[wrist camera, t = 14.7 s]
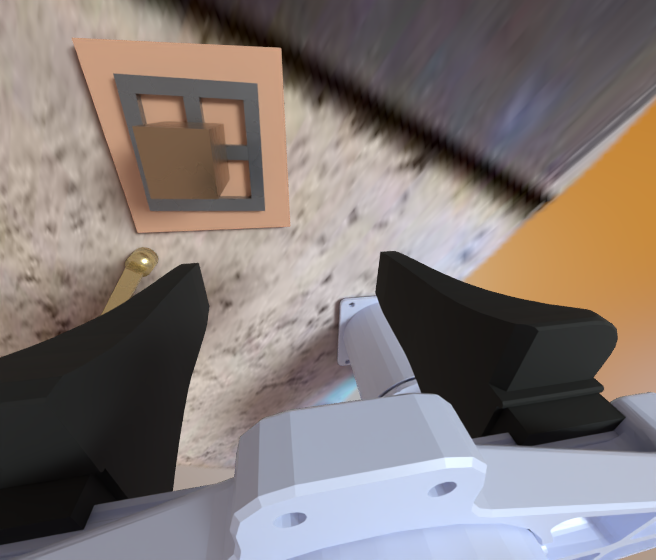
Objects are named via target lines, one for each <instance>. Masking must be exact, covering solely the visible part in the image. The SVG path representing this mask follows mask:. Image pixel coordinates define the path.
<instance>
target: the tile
mask: <svg viewBox="0 0 656 560" xmlns="http://www.w3.org/2000/svg"><path fill="white" fill-rule="evenodd" d="M72 40H73V43H74V46H75V49H76V52H77V55H78V58H79V61H80V64H81V67H82V70H83V73H84V76H85V79H86V82H87V85H88V87H89V90H90V93H91V96H92V99H93V102H94V105H95V108H96V111H97V114H98V117H99V120H100V123H101V126H102V129H103V132H104V135H105V138H106V141H107V143H108V146H109V149H110V152H111V155H112V158H113V161H114V164H115V167H116V170H117V173H118V176H119V179H120V182H121V185H122V188H123V191H124V194H125V196H126V199H127V202H128V205H129V208H130V211H131V214H132V217H133V220H134V223H135V226H136V229H137V232H138V233H145V232H169V231H194V230H218V229H242V228H267V227H290V211H289V192H288V172H287V153H286V134H285V114H284V95H283V76H282V56H281V48H271V47H250V46H230V45H209V44H189V43H168V42H148V41H127V40H107V39H86V38H72ZM113 73H115V74H130V75H144V76H159V77H173V78H188V79H202V80H217V81H231V82H246V83H257V84H258V96H259V113H260V129H261V145H262V162H263V178H264V195H265V211H150V209H149V205H148V202H147V198H146V194H145V191H144V187H143V183H142V179H141V176H140V172H139V168H138V164H137V161H136V157H135V153H134V149H133V146H132V142H131V138H130V135H129V131H128V127H127V123H126V120H125V116H124V112H123V108H122V105H121V101H120V97H119V93H118V90H117V86H116V82H115V79H114V75H113ZM140 97H141V101H142V105H143V109H144V114H145V118H146V122H147V124H150V123H156V122H163V121H176V122H187V117H186V111H185V106H184V100H183V96H168V95H151V94H140ZM201 100H202V106H203V113H204V120H205V123H220V124H223V125H224V133H225V142H226V144H243V145H247V137H246V125H245V113H244V102H243V100H236V99H219V98H202V97H201ZM228 167H229V176H230V180H229V182H228V183H227V185H226V187H225V189H224V190H223V192H222V194H221V196H251V185H250V173H249V161H248V160H228Z"/></svg>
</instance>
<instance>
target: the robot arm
mask: <svg viewBox="0 0 656 560" xmlns="http://www.w3.org/2000/svg"><path fill="white" fill-rule="evenodd" d="M375 293H376V296H371V297H358V298H346V299H343V300H341V302H340V313H339V334H338V355H337V362H338V364H339V365H340V366H345V365H351V367H352V370H353V374H354V377H355V380H356V384H357V387H358V390H359V393H360V397H361V400H355V401H348V402H341V403H334V404H327V405H320V406H313V407H306V408H299V409H292V410H288V411H284V412H281V413H278V414H275V415H272V416H268V417H265V418H263V419H262V420H260V421H259V422H258V423H257V424H255V425H254V426H253V427H252V428H250V429H249V430H248V431H247V432H245V433H244V434H243V435H242V436H241V437H240V440H239V444H238V449H237V453H236V463H235V474H234V477H233V478H230V479H228V480H225V481H222V482H219V483H217V484H212V485H207V486H200V487H195V488H189V489H183V490H178V491H173V485H174V476H175V469H176V461H177V454H178V447H179V440H180V434H181V427H182V421H183V415H184V409H185V404H186V399H187V393H188V388H189V384H190V380H191V376H192V373H193V370H194V367H195V364H196V360H197V357H198V354H199V351H200V348H201V344H202V341H203V338H204V334H205V331H206V327H207V321H208V313H209V303H208V299H207V295H206V291H205V287H204V282H203V278H202V274H201V270H200V266H199V263H191V264H181V265H179V266H177V267H176V268H174V269H173V270H171V271H170V272H168V273H167V274H166V275H164V276H163V277H161V278H160V279H158V280H157V281H156V282H154V283H153V284H151V285H150V286H148V287H147V288H146V289H144V290H143V291H141V292H139V293H138V294H136V295H135V296H133V297H132V298H130V299H128V300H127V301H125V302H124V303H122V304H121V305H119V306H117V307H115V308H114V309H112V310H110V311H108V312H106V313H105V314H103V315H101V316H99V317H97V318H95V319H93V320H91V321H89V322H87V323H85V324H83V325H81V326H78V327H76V328H74V329H72V330H69V331H67V332H65V333H63V334H60V335H58V336H56V337H54V338H51V339H49V340H46V341H44V342H41V343H39V344H36V345H34V346H31V347H28V348H26V349H23V350H20V351H17V352H15V353H12V354H9V355H6V356H4V357H1V358H0V560H618V559H621V558H624V557H627V556H630V555H633V554H636V553H639V552H642V551H646V550H649V549H652V548H656V393H653V392H647V393H641V394H635V395H629V396H623V397H619V398H616V399H615V400H613V401H611V402H608V401H607V400H606V399H605V398H604V397H603V396H602V395H600V394H599V393H600V392H602V391H603V390H604V387H603V385H602V384H600V383H599V382H598V381H597V380H596V379H594V376H595V375H596V374H597V372H598V371H599V369H600V368H601V367H602V365H603V364H604V363H605V361H606V360H607V359H608V357H609V356H610V355H611V353H612V351H613V350H614V348H615V346H616V342H617V339H618V336H617V329H616V328H615V327H614V325H613V324H612V323H610V322H608V321H607V320H606V319H604V318H603V317H601V316H600V315H598V314H597V313H595V312H593V311H591V310H587V309H580V308H573V307H565V306H558V305H550V304H545V303H540V302H535V301H529V300H524V299H519V298H515V297H511V296H507V295H503V294H499V293H496V292H492V291H488V290H485V289H482V288H479V287H476V286H473V285H470V284H468V283H465V282H462V281H459V280H457V279H455V278H452V277H450V276H448V275H445V274H443V273H441V272H439V271H436V270H434V269H432V268H430V267H428V266H426V265H424V264H422V263H420V262H418V261H416V260H414V259H412V258H410V257H408V256H406V255H404V254H401V253H399V252H396V251H387V252H380V260H379V268H378V276H377V284H376V291H375ZM350 303H353V304H352V305H349V304H350ZM347 360H348V361H347Z"/></svg>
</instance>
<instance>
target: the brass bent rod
mask: <svg viewBox="0 0 656 560" xmlns="http://www.w3.org/2000/svg"><path fill="white" fill-rule="evenodd" d="M157 263H158V256H157V254H156V253H155V252H154V251H153V250H151V249H149V248H144V247H142V248H138V249H136V250H135V251H134V252H133V253H132V254H131V256H130V257H129V258H128V259H127V260H126V261H125V270H124V272H123V274H122V275H121V277H120V279H119V281H118V283H117V285H116V287H115V289H114V291H113V293H112V295H111V297H110V299H109V301H108V303H107V305H106V307H105V308H104V310H103V312H102V313H101V315H103V314H105V313H106V312H108V311H110V310H112V309H114V308H115V307H117V306H119V305H121V304H122V303H124V302H125V301H127V300H128V299H130V298H131V297H132V295H133V293H134V291H135V290H136V288H137V286H138V284H139V282H140V280H141V279H142V277H145V276H147V275H149V274H150V273H151V271H152V270H153V268H154V267H155V266H156V264H157ZM101 315H100V316H101Z"/></svg>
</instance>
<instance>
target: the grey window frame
mask: <svg viewBox="0 0 656 560" xmlns="http://www.w3.org/2000/svg"><path fill="white" fill-rule="evenodd" d="M113 75H114V79H115V82H116V86H117V90H118V93H119V97H120V101H121V105H122V108H123V112H124V116H125V120H126V123H127V127H128V131H129V135H130V138H131V142H132V146H133V149H134V153H135V157H136V161H137V164H138V168H139V172H140V176H141V179H142V183H143V187H144V191H145V194H146V198H147V202H148V205H149V209H150V211H265V195H264V178H263V162H262V145H261V129H260V113H259V96H258V84H257V83H246V82H231V81H217V80H202V79H188V78H173V77H159V76H144V75H130V74H115V73H113ZM140 94H151V95H168V96H183V100H184V106H185V111H186V117H187V122H176V121H163V122H156V123H150V124H147V122H146V118H145V114H144V109H143V105H142V101H141V97H140ZM201 97H202V98H219V99H236V100H243V102H244V113H245V125H246V137H247V145H243V144H226V142H225V133H224V125H223V124H220V123H205V120H204V113H203V106H202V100H201ZM228 160H248V161H249V173H250V185H251V196H221V194H222V192H223V190H224V189H225V187H226V185H227V183H228V182H229V180H230V176H229V167H228Z"/></svg>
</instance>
